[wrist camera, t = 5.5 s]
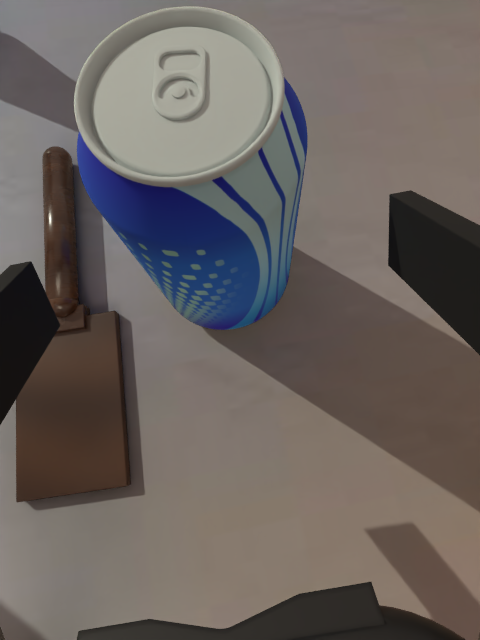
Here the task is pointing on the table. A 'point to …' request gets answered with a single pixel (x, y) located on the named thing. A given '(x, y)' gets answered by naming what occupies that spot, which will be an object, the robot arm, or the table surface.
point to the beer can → (195, 158)
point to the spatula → (71, 372)
